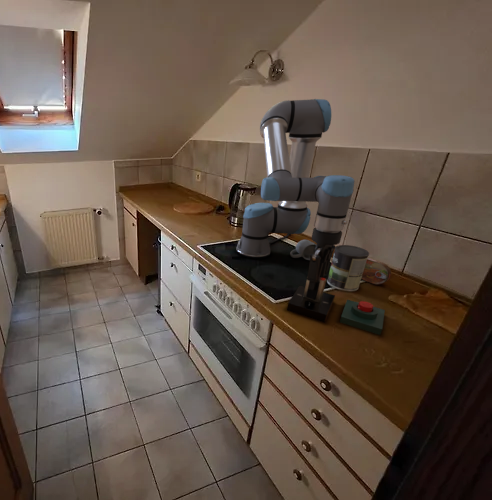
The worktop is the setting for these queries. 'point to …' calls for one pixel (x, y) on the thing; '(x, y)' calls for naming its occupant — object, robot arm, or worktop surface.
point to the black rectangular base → (311, 305)
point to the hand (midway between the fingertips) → (312, 296)
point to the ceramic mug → (304, 249)
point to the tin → (376, 272)
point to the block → (363, 317)
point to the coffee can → (347, 267)
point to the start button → (365, 306)
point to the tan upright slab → (320, 290)
